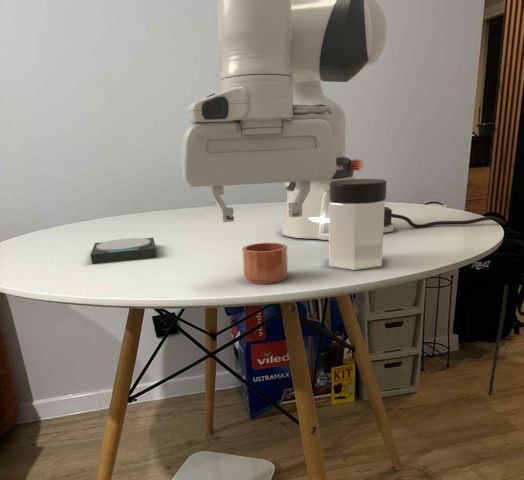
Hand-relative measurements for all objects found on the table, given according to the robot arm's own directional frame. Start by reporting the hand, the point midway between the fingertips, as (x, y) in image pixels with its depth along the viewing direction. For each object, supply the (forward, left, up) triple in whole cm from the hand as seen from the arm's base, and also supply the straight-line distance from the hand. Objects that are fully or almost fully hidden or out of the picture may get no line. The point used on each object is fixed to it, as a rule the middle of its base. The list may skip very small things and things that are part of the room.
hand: (261, 219), depth 68 cm
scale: (+20, -27, -8) cm, 35 cm away
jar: (-15, -3, -9) cm, 18 cm away
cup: (0, 0, -8) cm, 8 cm away
